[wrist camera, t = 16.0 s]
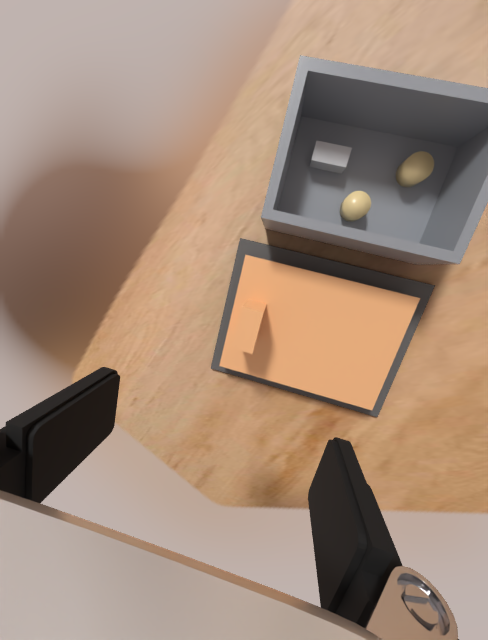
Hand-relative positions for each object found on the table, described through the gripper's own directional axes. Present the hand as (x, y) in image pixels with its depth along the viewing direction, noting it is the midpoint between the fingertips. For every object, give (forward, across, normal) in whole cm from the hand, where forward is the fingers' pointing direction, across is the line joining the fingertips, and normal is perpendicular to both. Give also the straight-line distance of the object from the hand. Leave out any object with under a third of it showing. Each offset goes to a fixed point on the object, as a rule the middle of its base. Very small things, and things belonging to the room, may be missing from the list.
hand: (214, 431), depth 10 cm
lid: (+26, -7, +1) cm, 27 cm away
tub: (+26, -8, -18) cm, 33 cm away
